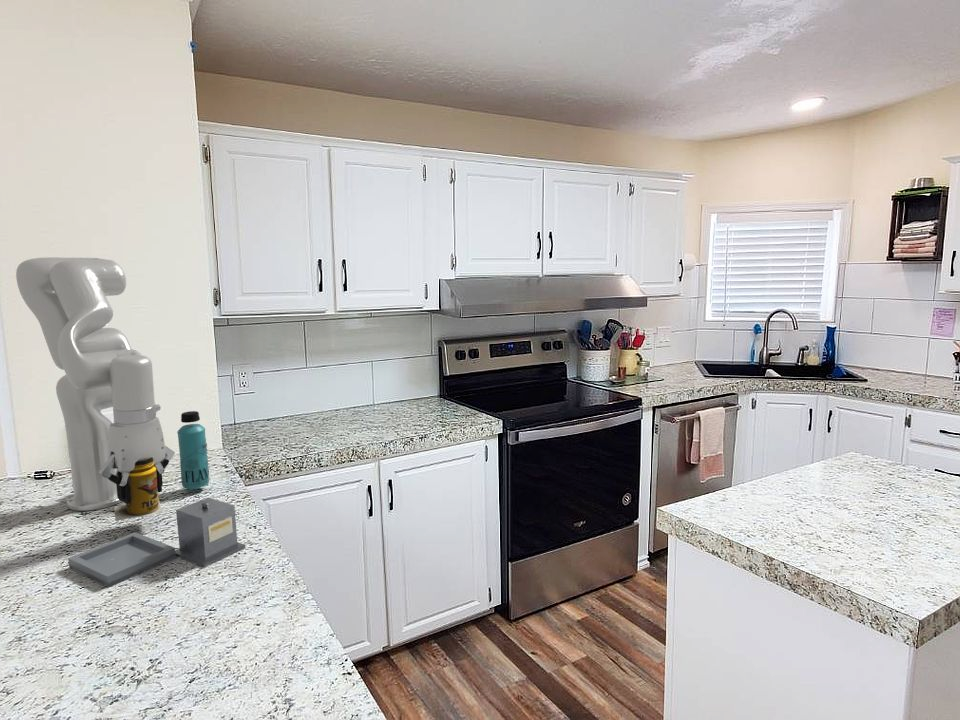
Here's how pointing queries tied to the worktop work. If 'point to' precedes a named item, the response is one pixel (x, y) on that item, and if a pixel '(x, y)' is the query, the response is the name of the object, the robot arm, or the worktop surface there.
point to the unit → (207, 532)
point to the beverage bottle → (193, 452)
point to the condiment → (141, 492)
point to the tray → (121, 559)
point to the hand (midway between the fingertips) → (140, 495)
